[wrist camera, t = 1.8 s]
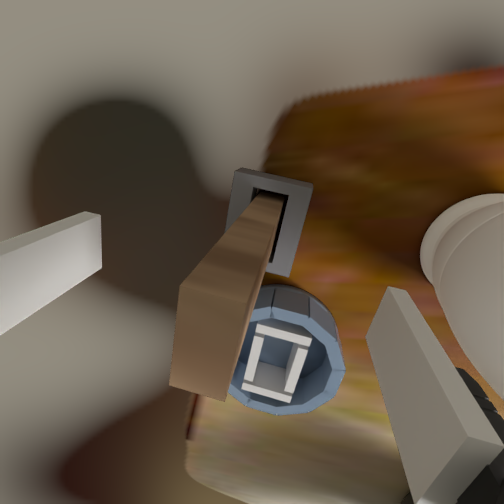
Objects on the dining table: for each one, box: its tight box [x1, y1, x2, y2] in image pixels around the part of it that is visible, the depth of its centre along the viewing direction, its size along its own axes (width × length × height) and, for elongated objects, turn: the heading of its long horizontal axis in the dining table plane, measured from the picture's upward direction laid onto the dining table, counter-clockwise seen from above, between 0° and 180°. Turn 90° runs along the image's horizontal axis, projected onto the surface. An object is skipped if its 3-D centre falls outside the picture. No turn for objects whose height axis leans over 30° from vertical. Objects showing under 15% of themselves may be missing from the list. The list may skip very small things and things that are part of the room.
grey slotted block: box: [224, 168, 313, 277], centre depth 23 cm, size 7×6×2 cm
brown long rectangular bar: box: [169, 192, 285, 402], centre depth 16 cm, size 4×2×16 cm, turn 169°
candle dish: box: [228, 284, 346, 415], centre depth 26 cm, size 11×11×4 cm
